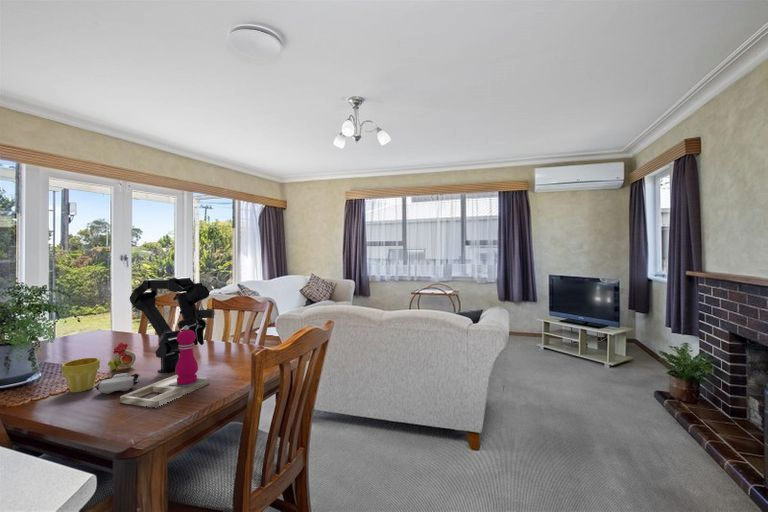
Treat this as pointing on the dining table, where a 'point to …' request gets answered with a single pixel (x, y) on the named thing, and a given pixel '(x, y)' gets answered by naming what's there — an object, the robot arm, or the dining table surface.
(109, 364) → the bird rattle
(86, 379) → the plant pot
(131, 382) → the robot toy
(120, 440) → the dining table surface
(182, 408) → the dining table surface
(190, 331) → the pepper mill
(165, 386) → the puzzle board
